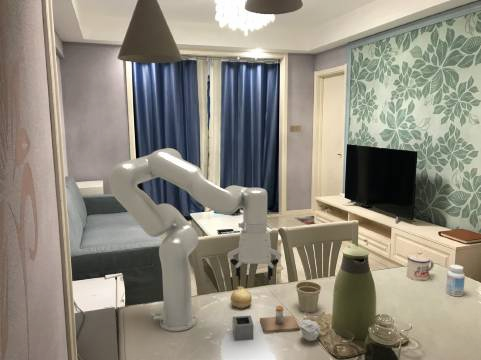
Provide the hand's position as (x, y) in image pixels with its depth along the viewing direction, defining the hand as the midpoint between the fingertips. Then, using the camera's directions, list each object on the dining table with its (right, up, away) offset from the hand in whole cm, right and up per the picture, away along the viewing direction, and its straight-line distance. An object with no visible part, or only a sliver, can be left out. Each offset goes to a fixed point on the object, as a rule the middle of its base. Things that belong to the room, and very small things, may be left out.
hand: (254, 278), depth 127 cm
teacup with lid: (+74, -11, +45) cm, 88 cm away
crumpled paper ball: (+17, -19, -2) cm, 26 cm away
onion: (-4, -16, +21) cm, 26 cm away
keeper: (+9, -18, +6) cm, 21 cm away
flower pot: (+20, -16, +18) cm, 31 cm away
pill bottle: (+80, -14, +29) cm, 87 cm away
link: (-4, -19, +1) cm, 19 cm away
